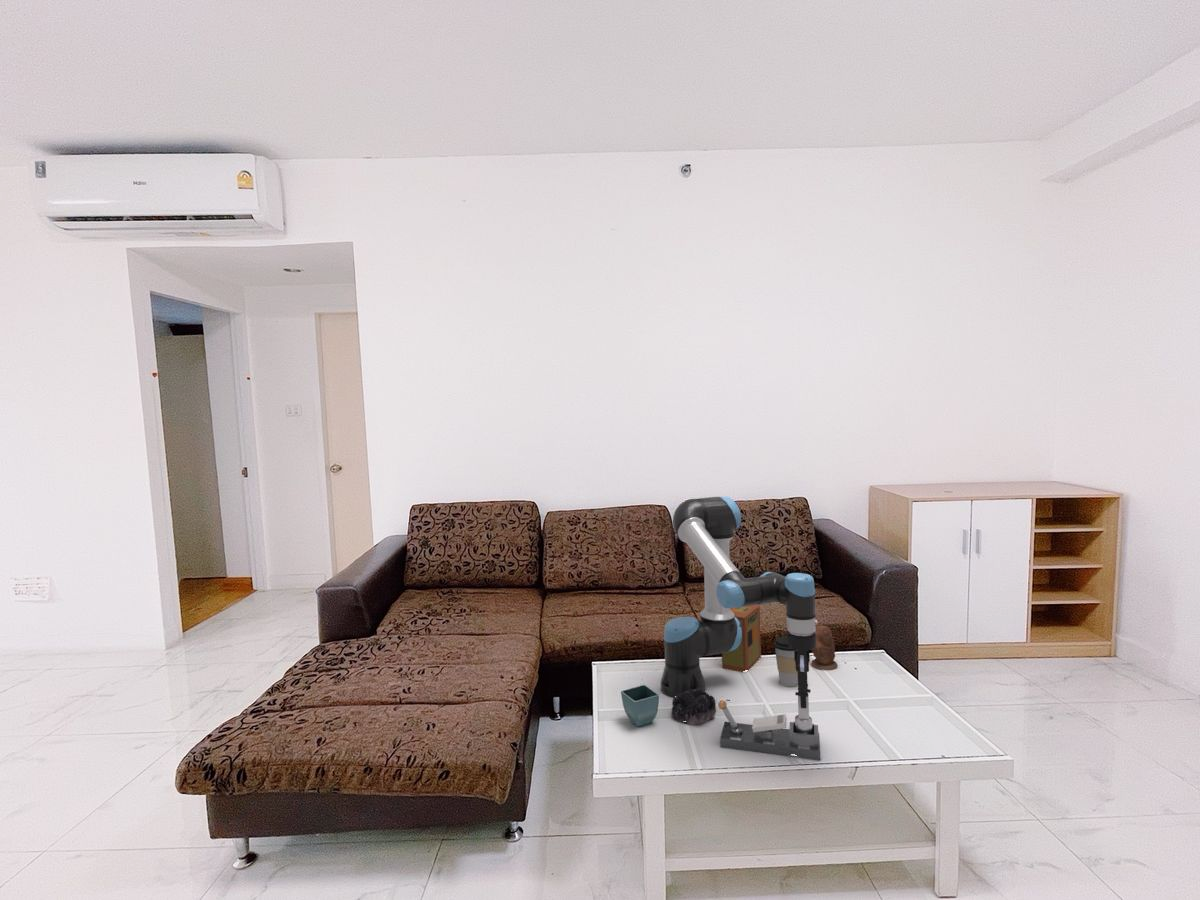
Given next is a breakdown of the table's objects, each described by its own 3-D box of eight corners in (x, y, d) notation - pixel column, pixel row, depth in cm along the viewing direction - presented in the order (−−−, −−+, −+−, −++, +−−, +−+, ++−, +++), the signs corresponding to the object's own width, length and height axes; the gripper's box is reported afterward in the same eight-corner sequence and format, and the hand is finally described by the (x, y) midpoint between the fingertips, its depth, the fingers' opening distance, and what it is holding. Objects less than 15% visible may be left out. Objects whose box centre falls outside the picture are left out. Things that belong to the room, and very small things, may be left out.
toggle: (730, 729, 169) (715, 704, 170) (731, 725, 171) (717, 700, 172) (738, 726, 168) (723, 701, 169) (738, 722, 171) (724, 697, 172)
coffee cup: (799, 677, 210) (798, 635, 210) (806, 689, 201) (804, 645, 200) (771, 677, 211) (770, 635, 211) (777, 689, 202) (775, 645, 201)
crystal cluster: (669, 708, 192) (666, 679, 191) (711, 703, 192) (708, 674, 191) (675, 732, 179) (671, 701, 178) (720, 727, 179) (717, 695, 178)
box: (746, 673, 216) (744, 617, 215) (722, 668, 221) (720, 614, 220) (761, 657, 230) (759, 605, 229) (738, 653, 235) (736, 602, 234)
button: (795, 735, 162) (794, 721, 162) (795, 727, 167) (795, 713, 166) (812, 737, 161) (812, 723, 161) (812, 729, 165) (811, 715, 165)
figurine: (810, 671, 217) (806, 629, 217) (811, 661, 226) (806, 621, 227) (837, 671, 213) (833, 629, 214) (837, 662, 223) (832, 621, 223)
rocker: (753, 732, 165) (751, 727, 165) (754, 722, 171) (753, 718, 171) (786, 727, 163) (784, 723, 163) (786, 718, 168) (785, 713, 168)
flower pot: (635, 731, 176) (634, 701, 176) (621, 719, 184) (620, 690, 184) (660, 724, 180) (660, 694, 180) (645, 712, 188) (644, 684, 188)
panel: (720, 746, 166) (719, 727, 166) (724, 729, 176) (724, 711, 176) (820, 760, 158) (819, 740, 158) (819, 741, 167) (818, 722, 167)
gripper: (816, 640, 156) (819, 730, 156) (815, 625, 168) (817, 708, 169) (786, 638, 158) (788, 727, 159) (787, 623, 170) (789, 705, 171)
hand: (803, 717), depth 164 cm, fingers closed
